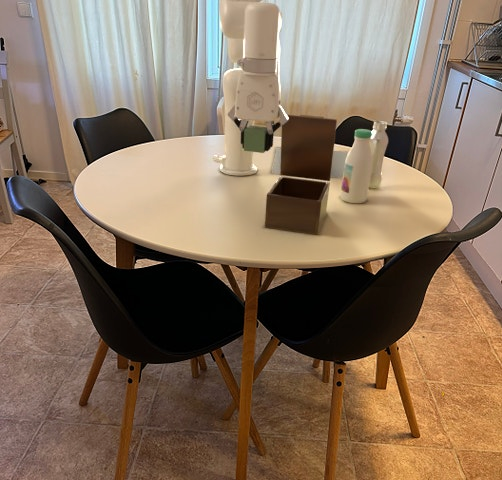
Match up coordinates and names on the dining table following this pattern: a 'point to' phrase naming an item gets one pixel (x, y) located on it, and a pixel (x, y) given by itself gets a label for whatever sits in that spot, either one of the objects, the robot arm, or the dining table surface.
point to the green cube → (255, 139)
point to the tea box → (296, 205)
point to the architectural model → (337, 163)
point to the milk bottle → (357, 169)
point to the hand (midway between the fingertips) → (256, 147)
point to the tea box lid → (307, 147)
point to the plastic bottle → (377, 152)
